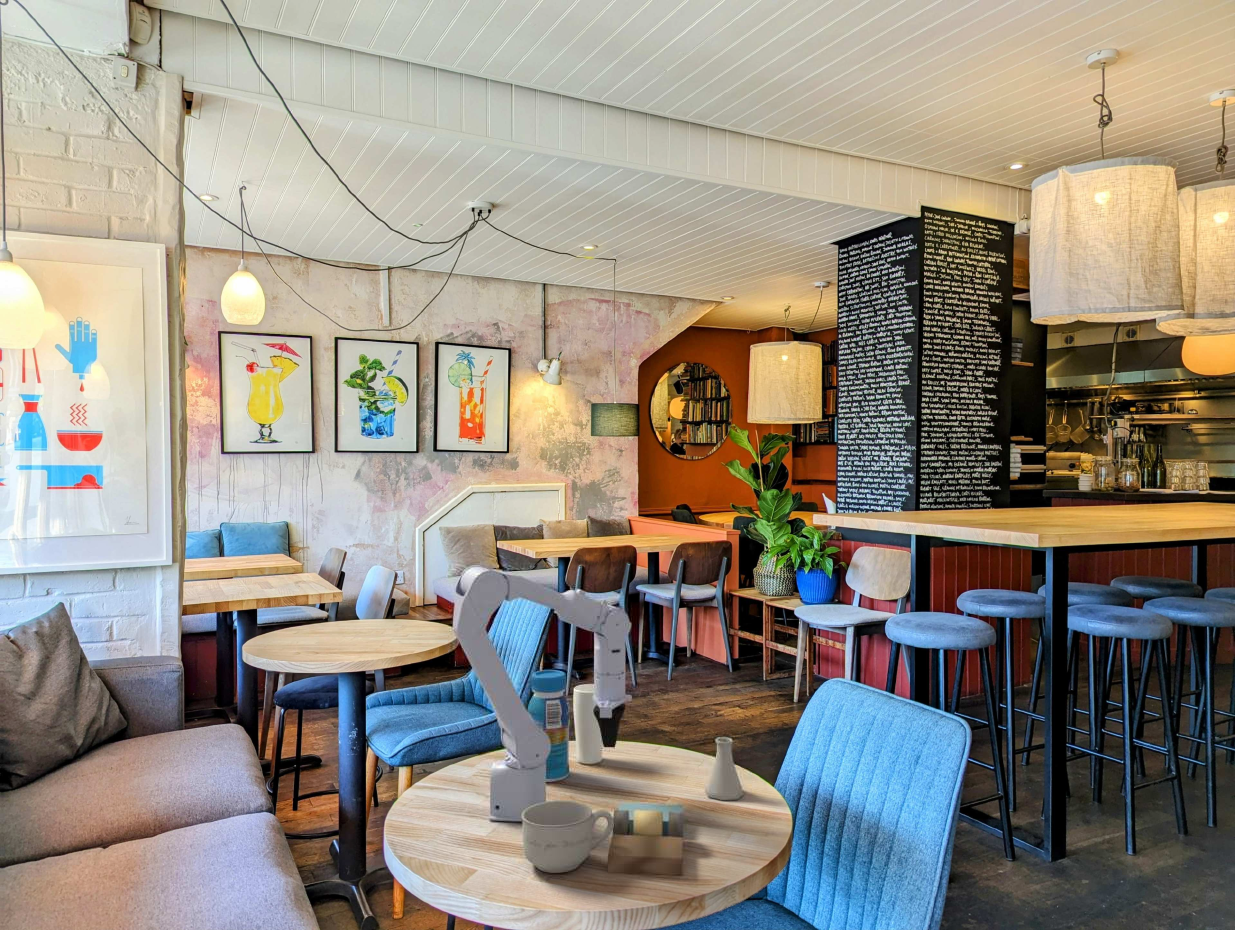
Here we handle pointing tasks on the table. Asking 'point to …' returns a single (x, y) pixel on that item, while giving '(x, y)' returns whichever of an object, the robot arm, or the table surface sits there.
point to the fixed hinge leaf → (646, 848)
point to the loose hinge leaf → (649, 818)
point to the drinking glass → (586, 726)
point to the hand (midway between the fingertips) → (609, 746)
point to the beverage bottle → (552, 719)
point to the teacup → (561, 834)
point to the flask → (724, 774)
